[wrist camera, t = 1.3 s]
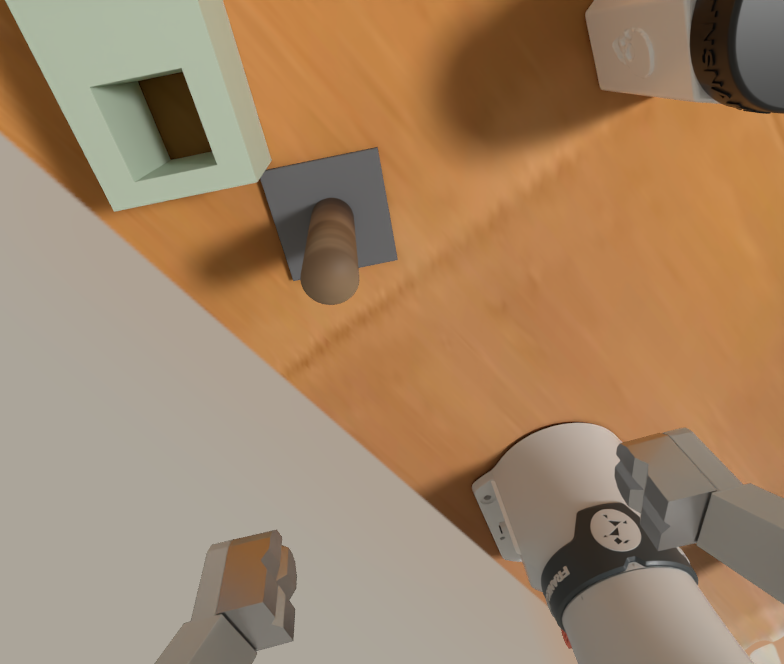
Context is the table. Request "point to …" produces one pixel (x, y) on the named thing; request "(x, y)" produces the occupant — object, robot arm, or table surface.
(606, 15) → the jar
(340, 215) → the walnut peg
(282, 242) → the mat
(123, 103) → the socket block
